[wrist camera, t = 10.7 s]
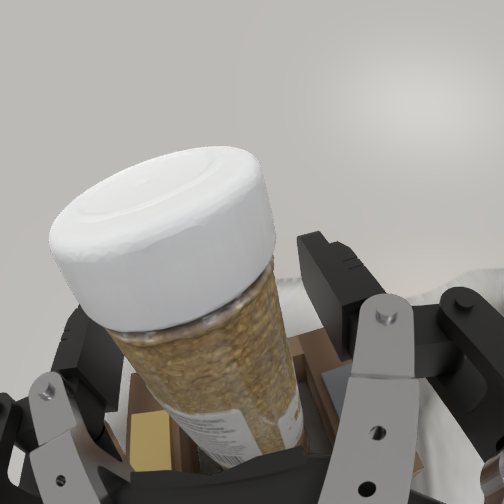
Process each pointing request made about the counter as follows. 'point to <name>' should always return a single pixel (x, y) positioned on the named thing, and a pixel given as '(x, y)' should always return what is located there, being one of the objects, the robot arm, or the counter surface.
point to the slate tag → (337, 386)
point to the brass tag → (151, 441)
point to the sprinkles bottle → (190, 294)
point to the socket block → (306, 368)
